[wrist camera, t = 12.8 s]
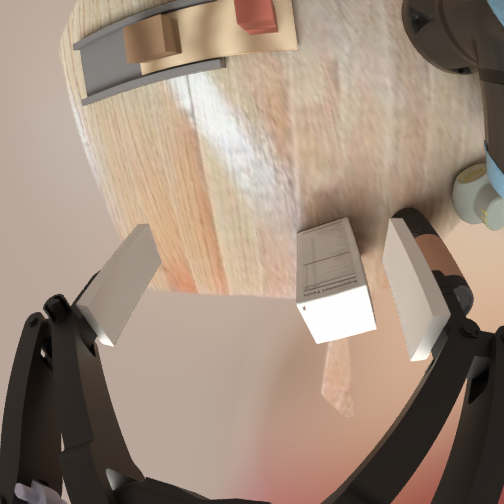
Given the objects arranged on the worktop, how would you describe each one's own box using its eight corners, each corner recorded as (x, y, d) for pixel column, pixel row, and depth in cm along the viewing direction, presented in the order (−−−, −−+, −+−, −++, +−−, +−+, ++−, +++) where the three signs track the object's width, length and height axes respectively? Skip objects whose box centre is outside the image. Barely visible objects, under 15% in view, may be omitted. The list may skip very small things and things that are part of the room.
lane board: (216, -4, 26) (210, -9, 24) (225, 67, 33) (220, 67, 31) (83, 43, 30) (72, 44, 28) (93, 103, 37) (82, 106, 35)
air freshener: (452, 218, 41) (477, 250, 33) (440, 180, 37) (469, 208, 29) (494, 193, 36) (523, 220, 28) (485, 154, 32) (519, 177, 24)
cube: (177, 19, 27) (160, 14, 23) (182, 53, 30) (165, 51, 26) (142, 30, 28) (122, 28, 24) (147, 62, 31) (127, 63, 27)
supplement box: (312, 272, 52) (314, 346, 38) (295, 232, 48) (292, 305, 34) (361, 257, 48) (378, 330, 35) (348, 215, 44) (368, 285, 31)
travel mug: (394, 250, 46) (426, 338, 30) (381, 217, 43) (418, 304, 27) (429, 234, 43) (474, 316, 27) (419, 199, 40) (474, 278, 24)
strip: (290, -6, 24) (288, -30, 16) (297, 49, 29) (298, 40, 21) (138, 25, 28) (98, 19, 20) (145, 74, 33) (106, 80, 25)
